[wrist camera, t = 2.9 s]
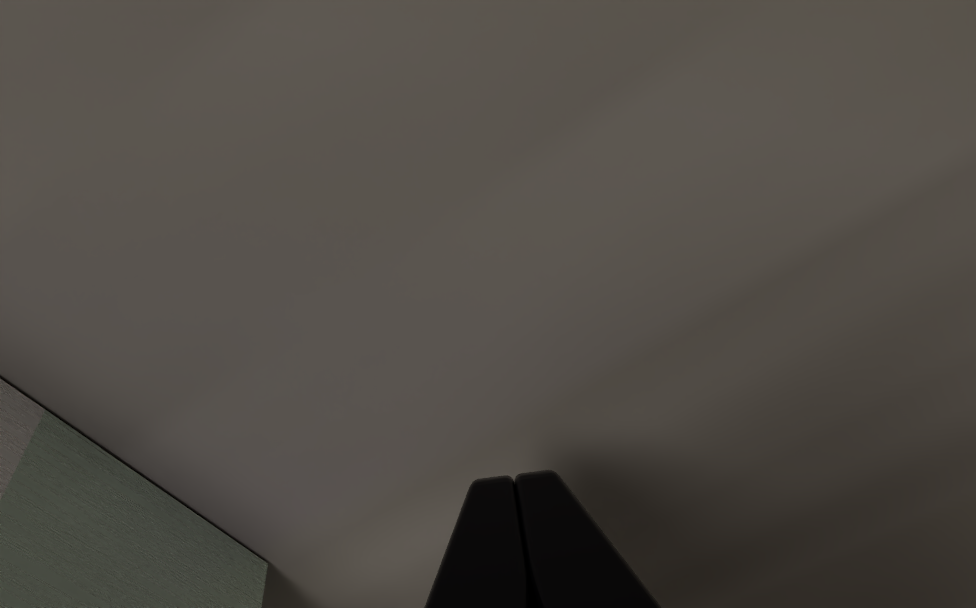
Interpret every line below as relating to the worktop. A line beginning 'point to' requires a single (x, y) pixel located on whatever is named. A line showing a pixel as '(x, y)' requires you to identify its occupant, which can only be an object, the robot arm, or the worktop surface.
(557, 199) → the worktop surface
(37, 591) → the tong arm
